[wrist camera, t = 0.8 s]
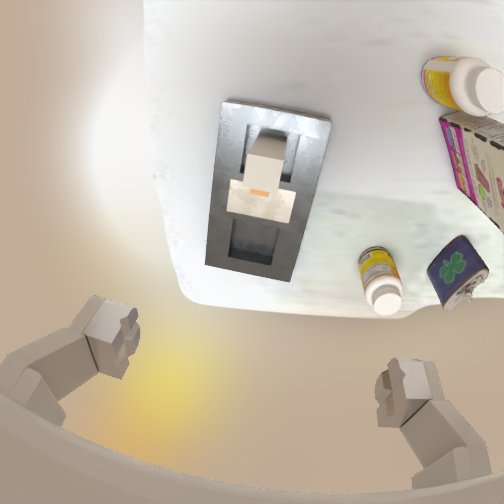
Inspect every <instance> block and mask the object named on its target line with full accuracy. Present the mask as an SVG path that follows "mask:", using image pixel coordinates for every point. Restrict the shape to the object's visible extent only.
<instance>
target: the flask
mask: <svg viewBox="0 0 504 504" xmlns="http://www.w3.org/2000/svg"><path fill="white" fill-rule="evenodd" d="M427 274H428V276H429V278H430V280H431V282H432V284H433V286H434V288H435V291H436V293H437V295H438V297H439V299H440V302H441V304H442V307H443V309H444V310H447V311H449V310H452V309H454V308H455V307H456V305H457V304H458V303H459V302H460V301H461V300H462V299H463V298H464V297H465V298H466V299H467V302H470V301H472V300H473V299H470V298H471V297H472V292H473V290H474V288H475V287H476V286H477V285H479V284H480V283H483V282H484V281H485V279H486V278H487V277H488V274H489V269H488V267H487V266H486V264H485V263H484V261H483V260H482V258H481V257H480V256H479V255H478V253H477V252H476V250H475V249H474V247H473V246H472V244H471V243H470V242H469V240H468V239H467V238H466V237H465V236H464V235H460V236H458V237H456V238H455V239H453V240H452V241H451V242H450V243H449V244H448V245H447V246H446V247H445V248H444V249H443V250H442V252H441V253H440V254H439V255H438V256H437V257H436V258H435V259H434V260H433V262H432V263H431V264H430V266H429V267H428V270H427Z"/></svg>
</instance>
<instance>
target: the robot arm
mask: <svg viewBox="0 0 504 504" xmlns="http://www.w3.org/2000/svg"><path fill="white" fill-rule="evenodd" d="M137 318H138V312H137V309H136V308H134V307H131V306H128V305H124V304H121V303H118V302H115V301H112V300H109V299H105V298H102V297H99V296H96V295H94V296H92V297H90V299H89V300H88V301H87V303H86V304H85V305H84V307H83V308H82V309H81V311H80V312H79V314H78V315H77V316H76V318H75V319H74V320H73V322H72V323H71V325H70V326H69V327H68V329H67V328H62V329H60V330H58V331H56V332H53V333H52V334H49V335H47V336H45V337H43V338H41V339H39V340H37V341H35V342H32V343H30V344H28V345H26V346H24V347H22V348H20V349H18V350H16V351H14V352H12V353H10V354H8V355H7V356H6V358H5V359H4V360H3V362H2V363H1V365H0V504H504V470H503V471H500V472H496V473H493V474H492V472H491V467H490V461H489V457H488V452H487V447H486V443H485V441H484V440H483V439H482V438H481V437H480V436H479V434H478V433H477V432H476V431H475V430H474V428H473V427H472V426H471V425H470V424H469V423H468V422H467V420H466V419H465V418H464V417H463V416H462V415H461V414H460V412H459V411H458V410H457V409H456V408H455V407H454V406H453V404H452V403H451V402H450V401H449V400H445V397H444V394H443V390H442V386H441V382H440V379H439V376H438V372H437V369H436V365H435V363H434V362H433V361H428V360H417V359H405V358H393V359H392V360H391V361H390V362H389V363H388V370H386V371H384V372H382V373H381V374H380V376H379V377H378V379H377V382H376V386H375V398H376V400H377V401H378V403H379V404H380V406H379V407H378V409H377V416H378V426H379V427H394V428H400V430H401V432H402V433H403V435H404V437H405V438H406V440H407V442H408V443H409V445H410V446H411V448H412V449H413V451H414V453H415V454H416V456H417V458H418V459H419V461H420V463H421V464H422V466H423V468H424V469H423V470H421V471H420V472H418V473H416V474H415V475H414V476H413V477H412V490H404V491H394V492H380V493H360V494H324V493H302V492H288V491H279V490H270V489H262V488H255V487H247V486H241V485H235V484H230V483H224V482H219V481H214V480H209V479H205V478H201V477H197V476H192V475H188V474H184V473H180V472H177V471H173V470H170V469H166V468H163V467H159V466H156V465H153V464H150V463H147V462H144V461H141V460H138V459H135V458H132V457H129V456H126V455H123V454H121V453H118V452H115V451H113V450H111V449H108V448H106V447H103V446H101V445H98V444H96V443H93V442H91V441H89V440H87V439H84V438H82V437H80V436H78V435H76V434H73V433H71V432H69V431H67V430H65V429H63V428H61V426H62V424H63V422H64V420H65V418H66V414H65V412H64V410H63V409H62V407H61V406H60V404H59V403H58V401H59V400H60V399H62V398H63V397H65V396H66V395H68V394H69V393H70V392H72V391H73V390H75V389H76V388H78V387H79V386H81V385H82V384H84V383H85V382H86V381H88V380H89V379H91V378H92V377H93V376H95V375H96V374H98V372H101V373H103V374H106V375H109V376H112V377H115V378H119V379H122V377H123V375H124V373H125V371H126V369H127V367H128V365H129V361H128V357H129V356H130V355H132V354H134V353H135V351H136V349H137V346H138V343H139V339H140V326H139V325H138V324H137V322H136V320H137Z"/></svg>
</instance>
